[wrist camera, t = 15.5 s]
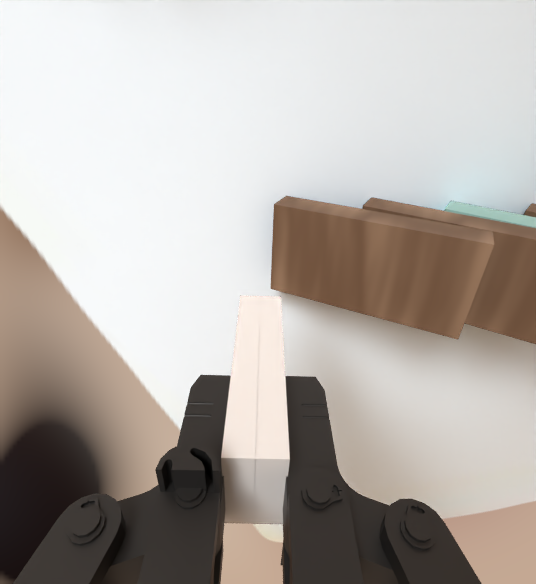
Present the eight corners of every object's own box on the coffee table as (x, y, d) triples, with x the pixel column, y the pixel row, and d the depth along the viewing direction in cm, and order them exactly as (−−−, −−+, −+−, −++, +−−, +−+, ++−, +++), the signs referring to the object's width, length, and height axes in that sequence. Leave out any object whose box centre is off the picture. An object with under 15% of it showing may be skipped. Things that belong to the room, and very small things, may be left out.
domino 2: (348, 289, 22) (550, 348, 18) (362, 205, 19) (604, 253, 15) (356, 277, 23) (547, 330, 19) (371, 197, 20) (597, 239, 16)
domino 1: (270, 288, 22) (457, 339, 18) (274, 204, 19) (494, 244, 15) (281, 276, 23) (458, 321, 19) (286, 196, 20) (492, 231, 17)
